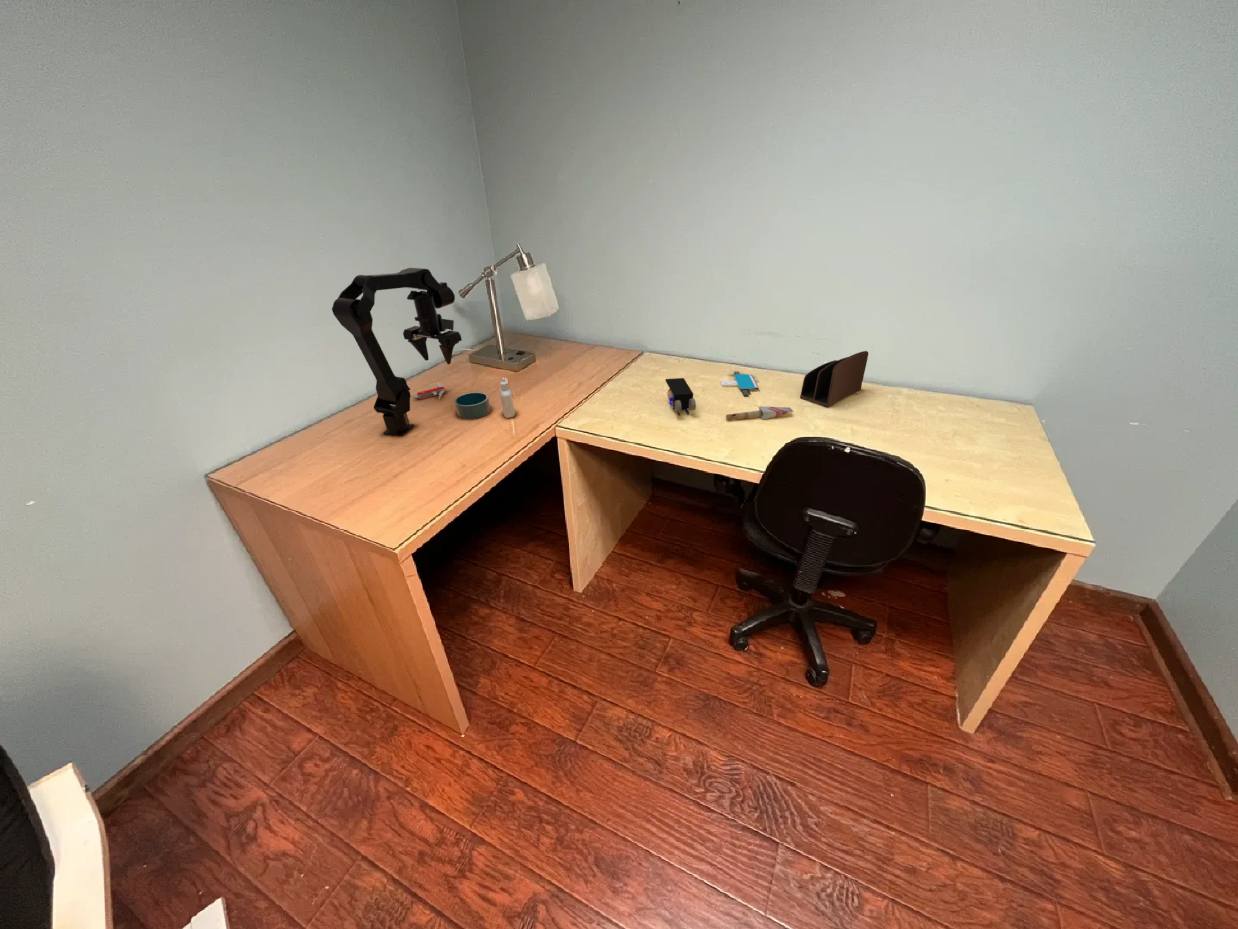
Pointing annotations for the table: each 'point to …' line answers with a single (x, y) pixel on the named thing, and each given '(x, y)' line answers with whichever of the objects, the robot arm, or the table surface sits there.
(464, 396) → the teal bowl
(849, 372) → the letter holder
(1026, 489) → the table surface
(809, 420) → the table surface
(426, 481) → the table surface
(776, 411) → the paintbrush
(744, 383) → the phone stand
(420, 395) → the swiss army knife
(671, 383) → the black block with wheels
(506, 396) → the eye dropper bottle
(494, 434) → the table surface
